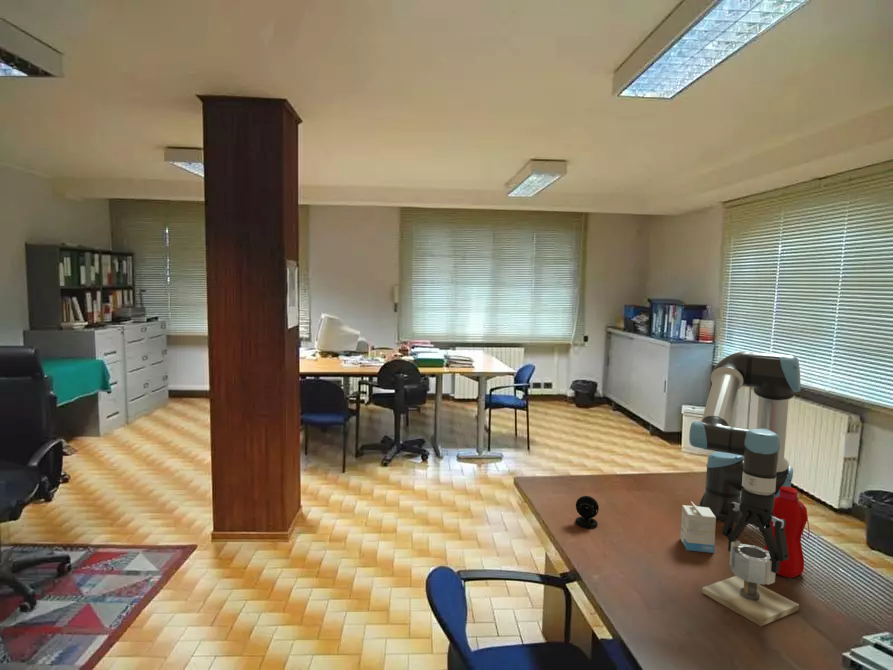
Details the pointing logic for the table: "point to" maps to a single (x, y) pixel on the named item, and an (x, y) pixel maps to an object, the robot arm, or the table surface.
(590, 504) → the webcam
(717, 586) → the shaft block
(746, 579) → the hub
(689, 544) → the ink box
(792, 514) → the water bottle
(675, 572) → the table surface
